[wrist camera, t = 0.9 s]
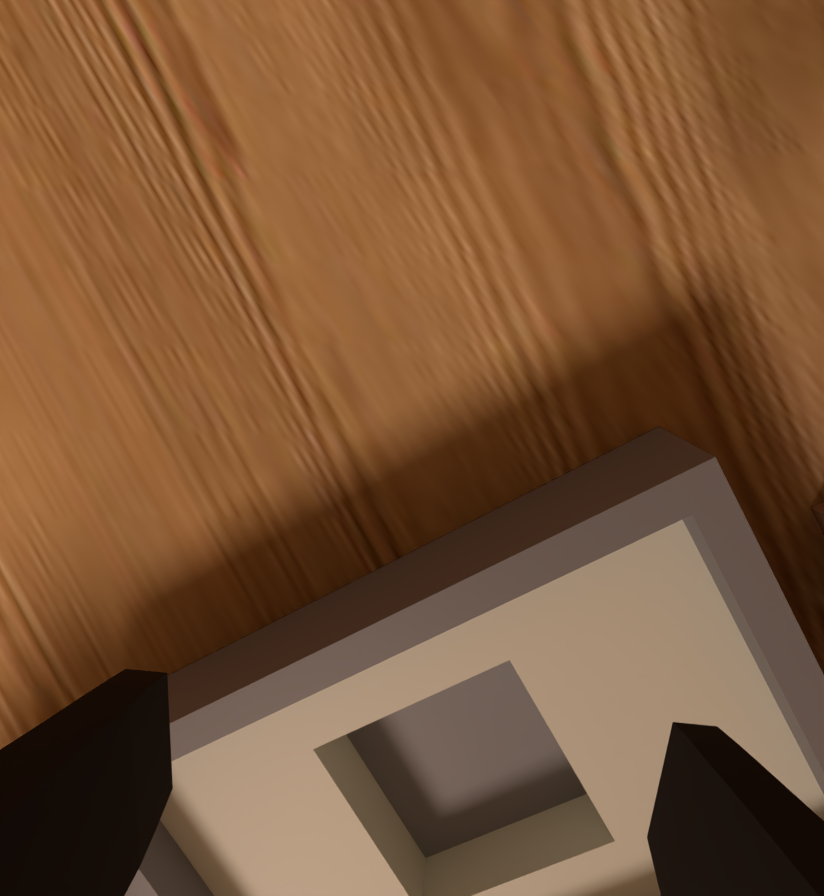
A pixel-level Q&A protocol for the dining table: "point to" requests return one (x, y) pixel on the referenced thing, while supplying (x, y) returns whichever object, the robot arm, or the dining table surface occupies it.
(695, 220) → the dining table surface
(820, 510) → the wooden peg
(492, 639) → the open box
